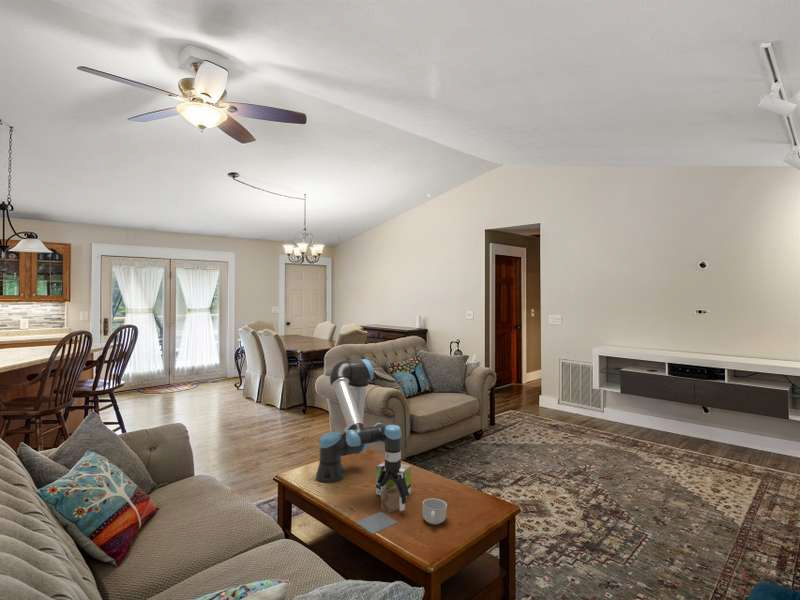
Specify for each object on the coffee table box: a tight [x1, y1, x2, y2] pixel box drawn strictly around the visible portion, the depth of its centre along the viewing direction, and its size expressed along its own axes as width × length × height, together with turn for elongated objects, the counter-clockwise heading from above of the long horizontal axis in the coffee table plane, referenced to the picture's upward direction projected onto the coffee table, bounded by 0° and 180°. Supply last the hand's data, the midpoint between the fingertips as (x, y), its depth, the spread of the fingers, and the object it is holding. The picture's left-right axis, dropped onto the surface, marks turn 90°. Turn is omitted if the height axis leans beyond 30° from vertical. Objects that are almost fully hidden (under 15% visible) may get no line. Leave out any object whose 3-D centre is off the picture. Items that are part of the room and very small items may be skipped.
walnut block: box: [380, 486, 401, 514], centre depth 204 cm, size 6×9×8 cm, turn 131°
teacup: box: [422, 497, 448, 526], centre depth 191 cm, size 14×11×8 cm
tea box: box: [375, 460, 412, 498], centre depth 218 cm, size 15×10×15 cm, turn 62°
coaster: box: [355, 511, 399, 535], centre depth 191 cm, size 12×14×1 cm
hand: (392, 504), depth 204 cm, fingers open, 13 cm apart
